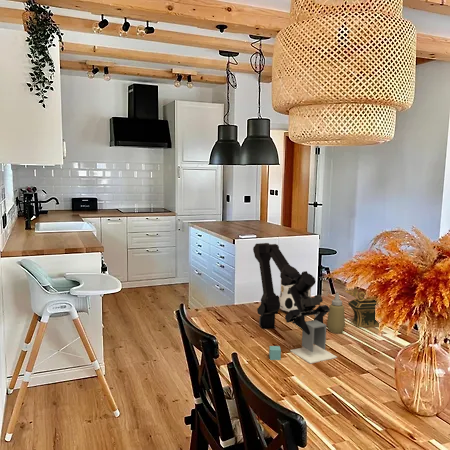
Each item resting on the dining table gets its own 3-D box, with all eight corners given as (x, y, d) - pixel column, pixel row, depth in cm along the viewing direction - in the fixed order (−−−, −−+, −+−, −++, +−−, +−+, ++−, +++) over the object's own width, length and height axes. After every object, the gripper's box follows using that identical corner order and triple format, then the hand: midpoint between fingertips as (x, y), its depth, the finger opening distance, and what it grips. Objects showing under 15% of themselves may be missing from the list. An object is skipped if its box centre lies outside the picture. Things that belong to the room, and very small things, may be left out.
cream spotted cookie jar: (273, 306, 233) (274, 274, 230) (303, 305, 237) (304, 272, 235) (285, 317, 216) (286, 282, 214) (317, 315, 220) (318, 280, 218)
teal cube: (279, 355, 171) (279, 346, 170) (280, 360, 167) (280, 350, 166) (269, 355, 171) (269, 346, 170) (270, 360, 167) (270, 350, 166)
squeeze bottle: (346, 329, 200) (348, 291, 198) (343, 335, 192) (345, 296, 190) (328, 327, 203) (330, 289, 201) (324, 332, 196) (326, 294, 194)
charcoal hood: (314, 343, 176) (315, 319, 175) (325, 349, 170) (326, 324, 169) (301, 346, 173) (302, 322, 172) (311, 352, 168) (313, 327, 166)
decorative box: (378, 320, 214) (380, 281, 211) (388, 327, 204) (391, 286, 202) (340, 321, 211) (342, 282, 208) (348, 328, 201) (350, 287, 199)
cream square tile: (316, 345, 181) (316, 344, 181) (337, 357, 169) (337, 356, 169) (290, 351, 175) (290, 350, 175) (310, 363, 164) (310, 362, 164)
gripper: (290, 290, 168) (306, 327, 160) (328, 285, 177) (345, 320, 168) (278, 304, 176) (293, 340, 168) (315, 299, 185) (331, 332, 176)
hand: (316, 332), depth 170 cm, fingers closed on charcoal hood, 6 cm apart
